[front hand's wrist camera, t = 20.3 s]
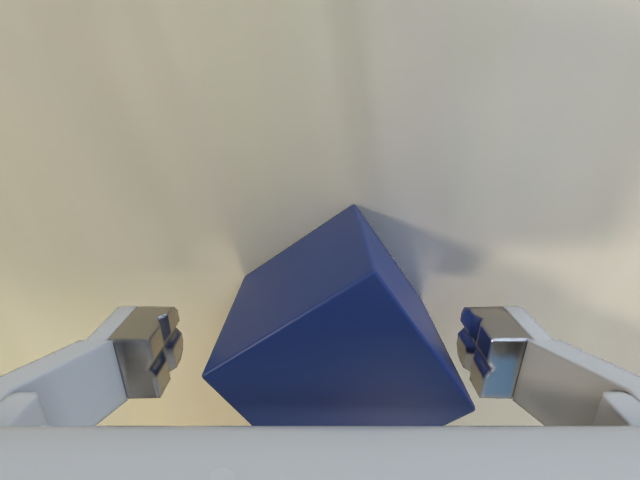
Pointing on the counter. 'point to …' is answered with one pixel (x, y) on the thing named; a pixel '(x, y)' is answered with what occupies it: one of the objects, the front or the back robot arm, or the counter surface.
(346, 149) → the counter surface
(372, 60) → the counter surface
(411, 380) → the brick
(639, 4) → the counter surface
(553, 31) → the counter surface
